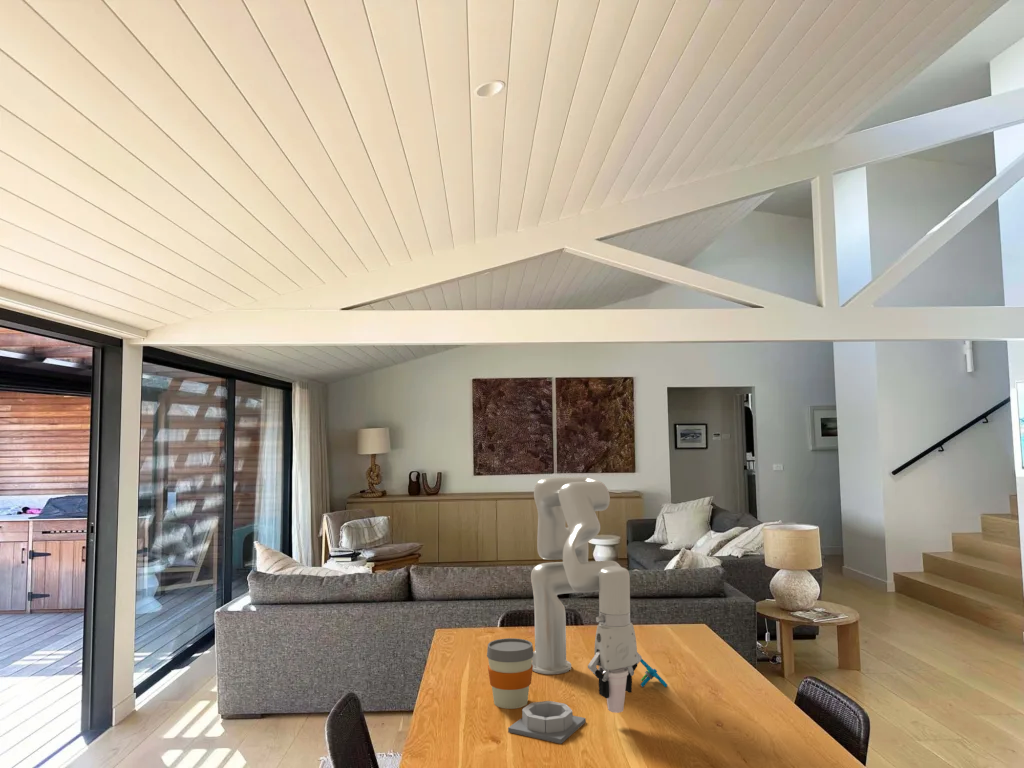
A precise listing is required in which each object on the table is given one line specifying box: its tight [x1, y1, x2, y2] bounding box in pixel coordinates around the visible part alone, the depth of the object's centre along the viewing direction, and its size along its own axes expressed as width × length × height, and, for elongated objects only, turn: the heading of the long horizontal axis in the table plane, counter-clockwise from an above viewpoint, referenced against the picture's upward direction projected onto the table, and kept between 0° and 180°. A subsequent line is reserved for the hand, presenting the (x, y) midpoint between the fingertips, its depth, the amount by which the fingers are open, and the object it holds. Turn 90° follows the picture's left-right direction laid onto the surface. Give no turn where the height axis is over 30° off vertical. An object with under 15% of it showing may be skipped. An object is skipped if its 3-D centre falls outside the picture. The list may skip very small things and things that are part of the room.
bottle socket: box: [507, 700, 587, 745], centre depth 170 cm, size 14×14×4 cm
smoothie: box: [602, 668, 629, 714], centre depth 171 cm, size 6×6×14 cm
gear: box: [639, 658, 668, 688], centre depth 198 cm, size 11×6×10 cm
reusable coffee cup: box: [486, 637, 534, 710], centre depth 187 cm, size 13×13×15 cm
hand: (615, 692), depth 171 cm, fingers closed on smoothie, 6 cm apart
